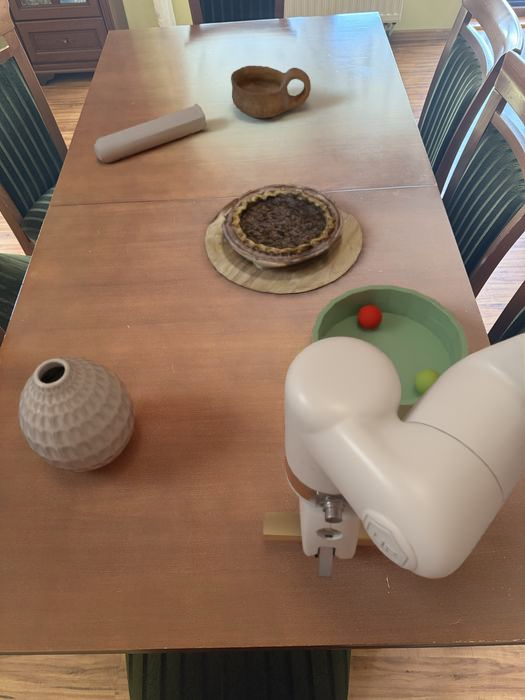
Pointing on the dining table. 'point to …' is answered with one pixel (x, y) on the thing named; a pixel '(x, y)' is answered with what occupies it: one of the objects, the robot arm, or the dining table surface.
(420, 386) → the grape
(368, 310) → the tomato
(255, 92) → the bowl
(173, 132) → the tube
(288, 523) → the stick
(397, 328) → the mixing bowl
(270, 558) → the dining table surface
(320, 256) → the pie
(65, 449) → the vase
